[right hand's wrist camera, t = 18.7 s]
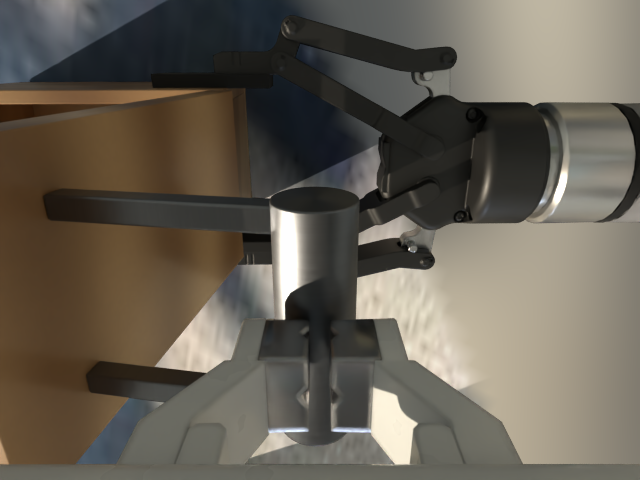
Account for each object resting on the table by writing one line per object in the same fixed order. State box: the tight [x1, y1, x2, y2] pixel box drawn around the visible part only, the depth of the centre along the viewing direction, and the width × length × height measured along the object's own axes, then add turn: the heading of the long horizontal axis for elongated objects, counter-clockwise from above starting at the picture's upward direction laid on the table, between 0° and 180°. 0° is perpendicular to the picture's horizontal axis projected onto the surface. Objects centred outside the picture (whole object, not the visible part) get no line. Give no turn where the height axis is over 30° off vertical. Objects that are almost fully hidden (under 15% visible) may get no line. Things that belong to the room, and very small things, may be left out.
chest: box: [0, 82, 252, 198], centre depth 29 cm, size 16×9×9 cm, turn 90°
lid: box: [0, 90, 360, 464], centre depth 17 cm, size 16×9×9 cm
